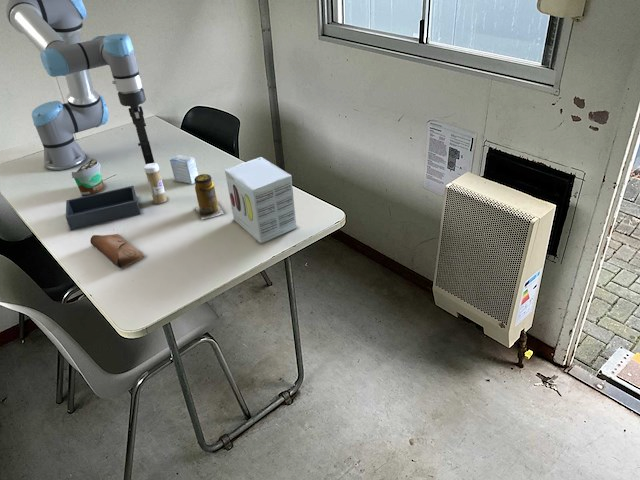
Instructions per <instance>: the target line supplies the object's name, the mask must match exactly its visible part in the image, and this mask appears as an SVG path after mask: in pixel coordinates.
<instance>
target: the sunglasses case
mask: <svg viewBox="0 0 640 480" xmlns="http://www.w3.org/2000/svg"><path fill="white" fill-rule="evenodd" d="M90 244H91V245H92V246H93V247H94V248H95V249H97V250H98V251H99V252H100V253H101V254H102V255H103V256H105V257H106V258H107V259H108V260H109V261H110V262H112V263H113V264H114V265H115V266H116V267H118V268H120V269H125V268H128V267H130V266H132V265H133V264H135V263H136V262H139V261H140V260H142V259H143V258H144V257H145V256H144V254H143V252H141V251H140V250H138V249H137V248H135V247H134V246H133V245H131V244H130V242H128V241H127V240H125V238H123V237H122V236H121V235H120V234H119V233H115V234H103V235H102V234H101V235H100V234H93V235H92V236H91V237H90Z"/></svg>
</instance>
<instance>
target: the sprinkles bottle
mask: <svg viewBox="0 0 640 480" xmlns="http://www.w3.org/2000/svg"><path fill="white" fill-rule="evenodd" d="M143 170H144V172H145V175H146V179H147V183H148V187H149V190H150V193H151V197H152V201H153V203H154V204H163V203H165V202H166V201H167V200H168V199H167V196H166V192H165V191H166V190H165V187H164V184H163V183H164V182H163V180H162V177H161V173H160V167H159V163H157V162H155V163H150V164H145V165H144V166H143Z"/></svg>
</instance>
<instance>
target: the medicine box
mask: <svg viewBox="0 0 640 480" xmlns="http://www.w3.org/2000/svg"><path fill="white" fill-rule="evenodd" d="M169 162H170V166H171V170H172V174H173V179H174V182H180V183H185V184H190V185H193V184H195V177H197V176H198V175H199V172H198V168H197V164H196V159H195V157H192V156H186V155H179V154H177V155H175V156H173V157H172V158H171V159H169Z"/></svg>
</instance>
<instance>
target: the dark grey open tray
mask: <svg viewBox="0 0 640 480" xmlns="http://www.w3.org/2000/svg"><path fill="white" fill-rule="evenodd" d="M140 209H141V208H140V204H139V200H138V195H137V192H136V189H135V186H134V185H130V186H125V187H121V188H116V189H112V190H106V191H101V192H99V193H97V194H93V195H89V196H79V197H74V198H70V199H67V200H65V220H66V222H67V224H68V227H69V229H70V231H74V230H79V229H84V228H88V227H91V226H96V225H101V224H105V223H109V222H113V221H117V220H121V219H126V218H129V217H130V218H131V217H134V216H138V215H141V210H140Z"/></svg>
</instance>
